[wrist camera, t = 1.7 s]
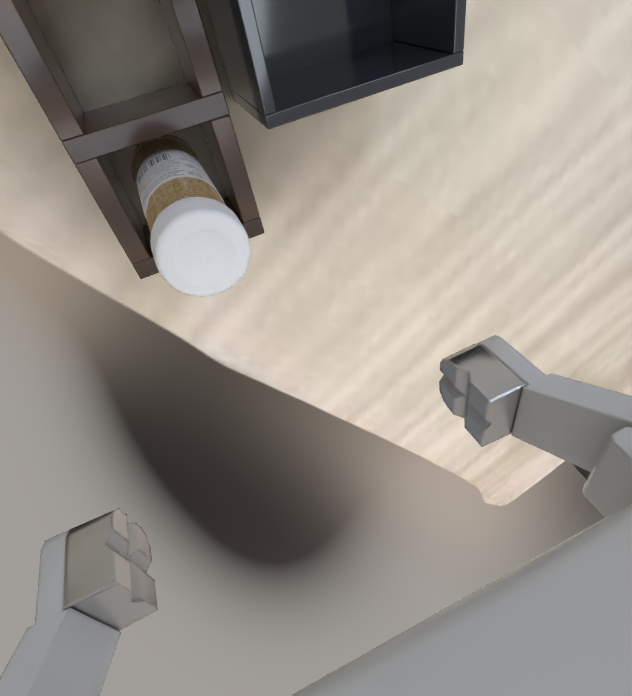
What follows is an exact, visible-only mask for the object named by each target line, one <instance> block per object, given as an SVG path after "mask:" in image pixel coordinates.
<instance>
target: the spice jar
mask: <svg viewBox="0 0 632 696" xmlns="http://www.w3.org/2000/svg"><path fill="white" fill-rule="evenodd" d="M131 166H132V174H133V178H134V180H135V182H136V184H137V188H138V192H139V196H140V200H141V204H142V208H143V211H144V215H145V218H146V220H147V223H148V226H149V229H150V233H151V239H150V244H151V250H152V253H153V257H154V260H155V263H156V266H157V268H158V271H159V273H160V274H161V276H162V277H163V279H164V280H165V281H166V282H167V283H168V284H169V285H170V286H171V287H173V288H174V289H176V290H178V291H179V292H182V293H184V294H187V295H191V296H212V295H216V294H219V293H221V292H224V291H226V290H227V289H229V288H231V287H232V286H233V285H235V284H236V283H237V282H238V281H239V280H240V279H241V278H242V276H243V275H244V273H245V271H246V270H247V267H248V265H249V262H250V257H251V245H250V241H249V238H248V235H247V233H246V231H245V229H244V227H243V225H242V224H241V222H240V221H239V219H238V217H237V216H236V215H235V213H234V212H233V211H232V210H231V209H229V208H228V207H227V206H226V205H225V203H224V201H223V199H222V197H221V195H220V194H219V192H218V191H217V189H216V188H215V186H214V185H213V183H212V181H211V180H210V178H209V177H208V175H207V173H206V172H205V170H204V168H203V167H202V165H201V164H200V163H199V161H198V159H197V157H196V155H195V153H194V151H193V150H192V149H191V147H190V146H189V145H187V144H186V143H185V142H184V141H183V140H181V139H178V138H176V137H173V136H169V135H164V136H161V137H158V138H155V139H152V140H149V141H146V142H143V143H141V144H140V145H139V146H138V148H137V149H136V150H135V153H134V155H133V159H132V164H131Z"/></svg>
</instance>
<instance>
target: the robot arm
mask: <svg viewBox="0 0 632 696" xmlns="http://www.w3.org/2000/svg"><path fill="white" fill-rule="evenodd" d="M440 371H441V372H442V373H443V374H444V375H443V377H442V378H441V380H440V381H439V385H440V393H441V395H442V398H443V400H444V402H445V404H446V405H447V407H448V408H449V409H450V411H451V412H452V413H453V414H454V415H457V416H460V417H462V418H464V421H465V428H466V429H467V431H468V432H469V433H470V434H471V435H472V436H473V437H474V439H475V440H476V441H477V442H478V443H479V444H480V446H481V447H483V446H485V445H487V444H489V443H491V442H494V441H496V440H498V439H500V438H502V437H504V436H506V435H509V434H511V433H512V434H511V435H512V436H514V437H516V438H519V439H521V440H523V441H525V442H527V443H529V444H531V445H534V446H536V447H538V448H540V449H542V450H544V451H546V452H549V453H551V454H553V455H555V456H557V457H559V458H561V459H564V460H566V461H568V462H570V463H572V464H574V465H576V466H579V467H581V468H583V469H585V470H587V471H589V472H591V474H590V476H589V477H588V479H587V481H586V483H585V485H584V487H583V495H584V496H585V497H586V498H587V499H588V500H589V501H590V502H591V503H592V504H593V505H594V506H595V507H596V508H597V509H598V510H599V511H600V512H601V513H602V515H603V516H604V517H605V519H603V520H601V521H599V522H597V523H595V524H594V525H592V526H590V527H588V528H587V529H585V530H583V531H581V532H580V533H578V534H576V535H574V536H572V537H571V538H569V539H567V540H565V541H564V542H562V543H560V544H558V545H556V546H555V547H553V548H551V549H549V550H548V551H546V552H544V553H543V554H541V555H539V556H537V557H535V558H533V559H532V560H530V561H528V562H526V563H525V564H523V565H521V566H519V567H518V568H516V569H514V570H512V571H510V572H509V573H507V574H505V575H503V576H502V577H500V578H498V579H496V580H495V581H493V582H491V583H489V584H487V585H486V586H484V587H482V588H480V589H478V590H477V591H475V592H473V593H472V594H470V595H468V596H466V597H464V598H463V599H461V600H459V601H457V602H455V603H454V604H452V605H451V606H449V607H447V608H445V609H443V610H441V611H439V612H438V613H436V614H434V615H432V616H431V617H429V618H427V619H425V620H424V621H422V622H420V623H418V624H416V625H415V626H413V627H411V628H409V629H408V630H406V631H404V632H402V633H400V634H399V635H397V636H395V637H393V638H392V639H390V640H388V641H386V642H385V643H383V644H381V645H379V646H378V647H376V648H374V649H372V650H370V651H369V652H367V653H365V654H363V655H362V656H360V657H358V658H357V659H354V660H353V661H351V662H349V663H348V664H346V665H344V666H342V667H340V668H338V669H337V670H335V671H333V672H332V673H330V674H328V675H326V676H324V677H322V678H321V679H319V680H317V681H315V682H314V683H312V684H310V685H308V686H307V687H305V688H303V689H301V690H299V691H298V692H296V693H294V694H292V695H291V696H632V396H630V395H626V394H623V393H619V392H616V391H612V390H608V389H605V388H601V387H598V386H594V385H591V384H587V383H584V382H580V381H577V380H573V379H570V378H566V377H562V376H559V375H555V374H549V375H547V376H546V375H545V374H544V373H543V372H542V371H540V370H539V369H538V368H537V367H536V366H534V365H533V364H532V363H531V362H530V361H528V360H527V359H526V358H525V357H524V356H522V355H521V354H520V353H519V352H518V351H517V350H515V349H514V348H513V347H512V346H511V345H509V344H508V343H507V342H506V341H505V340H503V339H502V338H501V337H499V336H496V335H495V336H491V337H489V338H487V339H485V340H483V341H481V342H479V343H477V344H473V345H471V346H469V347H467V348H465V349H463V350H461V351H459V352H456V353H454V354H452V355H450V356H448V357H446V358H444V359H442V361H441V362H440ZM151 561H152V555H151V548H150V545H149V542H148V539H147V536H146V534H145V532H144V531H143V529H142V528H141V527H140V526H139V525H138V524H137V523H133V522H127V514H126V513H124V512H123V511H122V510H120V509H119V508H118V509H116V510H113V511H111V512H109V513H107V514H104V515H102V516H100V517H97V518H95V519H93V520H90V521H88V522H86V523H84V524H81V525H79V526H77V527H75V528H72V529H70V530H68V531H65V532H63V533H61V534H59V535H56V536H54V537H52V538H50V539H48V540H45V542H44V545H43V547H42V549H41V555H40V568H39V579H38V592H37V604H36V617H35V624H34V625H33V626H31V627H29V628H28V629H27V630H26V632H25V633H24V635H23V637H22V639H21V641H20V642H19V644H18V646H17V648H16V650H15V651H14V653H13V655H12V657H11V659H10V660H9V662H8V664H7V666H6V667H5V669H4V671H3V673H2V675H1V676H0V696H100V693H101V690H102V687H103V684H104V681H105V678H106V675H107V672H108V669H109V666H110V663H111V660H112V657H113V655H114V652H115V649H116V646H117V643H118V640H119V637H120V634H121V632H120V631H119V630H121V629H123V628H125V627H127V626H129V625H130V624H133V623H134V622H136V621H138V620H140V619H142V618H144V617H146V616H148V615H149V614H151V613H153V612H155V611H157V610H158V608H157V599H156V590H155V580H154V579H153V578H152V577H151V576H149V575H148V574H147V570H148V568H149V566H150V564H151Z"/></svg>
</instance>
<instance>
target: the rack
mask: <svg viewBox="0 0 632 696" xmlns="http://www.w3.org/2000/svg"><path fill="white" fill-rule="evenodd" d="M159 2H160V5H161V8H162V11H163V14H164V16H165V19H166V22H167V25H168V28H169V31H170V34H171V37H172V40H173V43H174V46H175V48H176V51H177V54H178V57H179V60H180V63H181V66H182V69H183V72H184V75H185V78H186V80H187V82H184V83H180V84H177V85H174V86H171V87H167V88H164V89H161V90H157V91H154V92H151V93H148V94H144V95H141V96H138V97H135V98H131V99H128V100H125V101H121V102H118V103H115V104H112V105H108V106H105V107H102V108H99V109H95V110H92V111H89V112H86V113H83V110H82V108H81V106H80V104H79V103H78V101H77V99H76V97H75V95H74V93H73V91H72V89H71V87H70V85H69V83H68V81H67V79H66V77H65V75H64V74H63V72H62V70H61V68H60V66H59V64H58V62H57V60H56V58H55V56H54V54H53V52H52V50H51V48H50V46H49V45H48V43H47V41H46V39H45V37H44V35H43V33H42V31H41V29H40V27H39V25H38V23H37V21H36V19H35V17H34V16H33V14H32V12H31V10H30V8H29V6H28V4H27V2H26V0H0V36H1V38H2V39H3V41H4V43H5V45H6V46H7V48H8V50H9V51H10V53H11V55H12V57H13V58H14V60H15V62H16V64H17V65H18V67H19V69H20V71H21V72H22V74H23V76H24V77H25V79H26V81H27V83H28V84H29V86H30V88H31V90H32V91H33V93H34V95H35V97H36V98H37V100H38V102H39V103H40V105H41V107H42V109H43V110H44V112H45V114H46V116H47V117H48V119H49V121H50V123H51V124H52V126H53V128H54V129H55V131H56V133H57V135H58V136H59V138H60V140H61V141H62V143H63V145H64V147H65V149H66V150H67V152H68V154H69V156H70V157H71V159H72V161H73V163H74V164H75V166H76V168H77V169H78V171H79V173H80V175H81V176H82V178H83V180H84V181H85V183H86V185H87V187H88V188H89V190H90V192H91V194H92V195H93V197H94V199H95V201H96V202H97V204H98V206H99V208H100V209H101V211H102V213H103V214H104V216H105V218H106V220H107V221H108V223H109V225H110V227H111V228H112V230H113V232H114V234H115V235H116V237H117V239H118V240H119V242H120V244H121V246H122V247H123V249H124V251H125V253H126V254H127V256H128V258H129V260H130V261H131V263H132V264H133V266H134V268H135V270H136V272H137V273H138V275H139V277H140V279H143V278H145V277H148V276H151V275H153V274H156V273H159V271H158V268H157V266H156V263H155V260H154V257H153V253H152V250H151V244H150V239H151V233H150V229H149V226H148V225H145V226H143V227H142V224H141V222H140V220H139V218H138V217H137V215H136V213H135V211H134V209H133V207H132V205H131V203H130V201H129V199H128V197H127V195H126V193H125V191H124V189H123V188H122V186H121V184H120V182H119V180H118V178H117V176H116V174H115V172H114V170H113V168H112V166H111V164H110V162H109V160H108V159H107V157H106V154H109V153H112V152H115V151H118V150H121V149H124V148H127V147H130V146H133V145H137V144H140V143H143V142H146V141H149V140H152V139H155V138H158V137H161V136H164V135H167V134H170V133H174V132H177V131H180V130H183V129H186V128H189V127H192V126H195V125H198V124H202V127H203V130H204V133H205V136H206V139H207V142H208V144H209V147H210V150H211V153H212V156H213V159H214V162H215V165H216V168H217V171H218V174H219V176H220V179H221V182H222V185H223V188H224V191H225V194H226V196H227V197H224V198H222V199H223V201H224V203H225V205H226V206H227V207H228V208H229V209H231V210H232V211H233V212H234V213H235V215H236V216H237V217H238V219H239V221H240V222H241V224H242V225H243V227H244V229H245V231H246V233H247V235H248V238H252V237H255V236H257V235H260V234H263V233H264V229H263V226H262V222H261V219H260V217H259V212H258V209H257V205H256V202H255V199H254V195H253V192H252V189H251V185H250V182H249V178H248V175H247V172H246V168H245V165H244V161H243V158H242V155H241V151H240V148H239V145H238V141H237V138H236V134H235V131H234V128H233V124H232V121H231V117H230V115H229V110H228V107H227V103H226V100H225V97H224V93H223V91H222V87H221V83H220V80H219V76H218V73H217V70H216V66H215V63H214V60H213V56H212V53H211V49H210V46H209V43H208V39H207V36H206V32H205V29H204V26H203V22H202V19H201V15H200V12H199V9H198V5H197V2H196V0H159Z"/></svg>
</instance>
